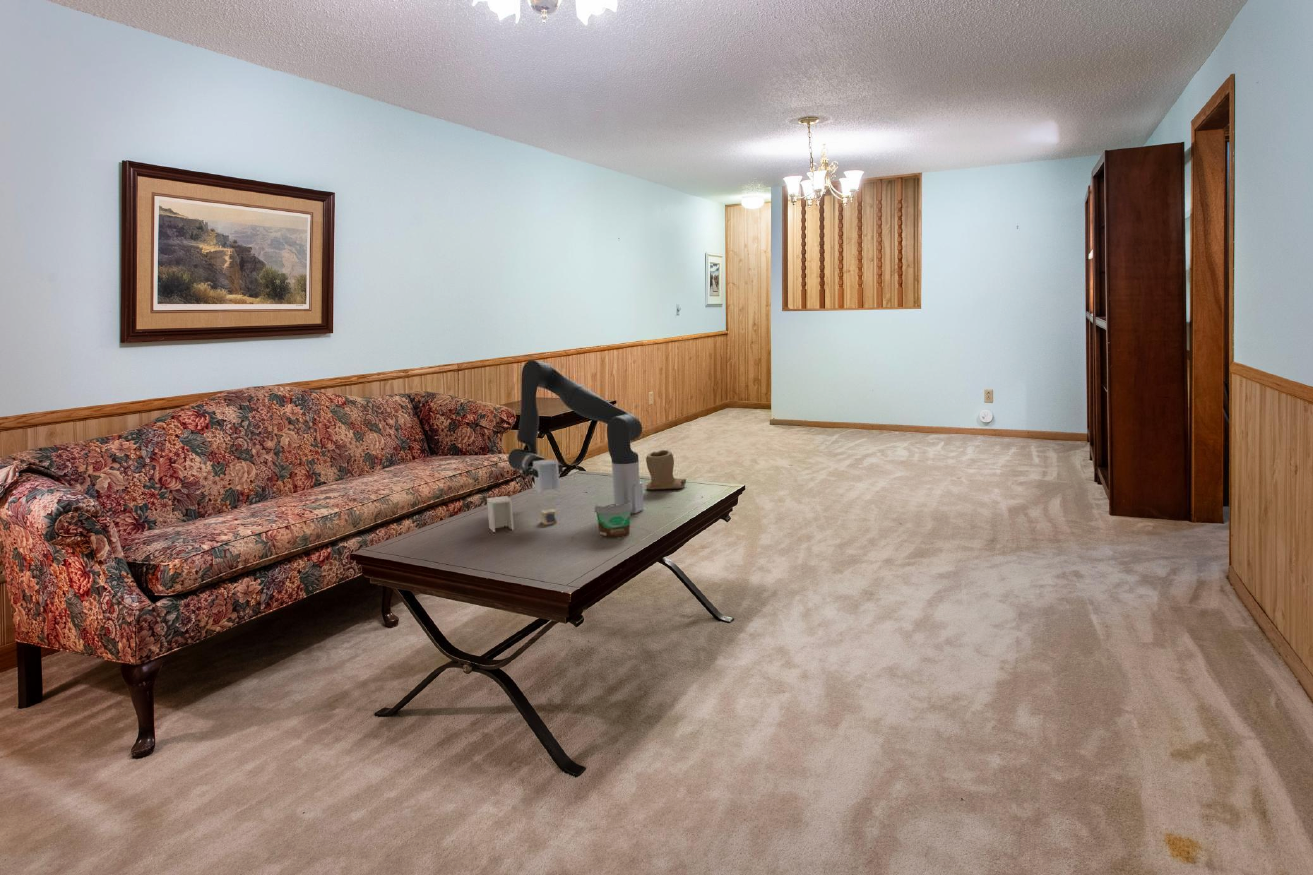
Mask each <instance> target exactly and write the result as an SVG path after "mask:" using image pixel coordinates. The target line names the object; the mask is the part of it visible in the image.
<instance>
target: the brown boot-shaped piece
mask: <svg viewBox="0 0 1313 875" xmlns="http://www.w3.org/2000/svg"><path fill="white" fill-rule="evenodd" d="M645 463H646V467H647V470H648V472H649V475H650V478H651V481H650V482H648V483H647V484H646V485H645V487H646V489H648V490H678V489H683V488H684V487H685V486H686V484H687V479H686V478H675V477H674V475H673V474H674V466H675V458H674V454H673V453H672V451H671V450H668V449H661V450H658V451H652V452H650V453H648V454H647V455H646V457H645Z"/></svg>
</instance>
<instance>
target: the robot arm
mask: <svg viewBox="0 0 1313 875" xmlns="http://www.w3.org/2000/svg"><path fill="white" fill-rule="evenodd" d="M520 377H521V378H520V379H521V380H520V381H521V382H520V383H521V384H520V385H521V386H520V387H521V391H520V392H521V394H520V395H521V396H520V398H521V399H520V415H519V423H518V430H517V435H516V439H517V442H519V443H521V444H524V445H525V446H527V448H528V450H527V449H522V448H514V449H512V450H511V451H510V452H509V454H508V456H507V460H508V464H509V466H510V468H512V469H516V470H520V471H519V472H520V476H523V477H526V478H529V477H532V478H533V479H534V477H536V478H537V477H538V471H537V470H535V469H534V468H533V461H540V460H547V459H546V458H545V457H542V455H541V456H540V455H539V454H538V448H537V447H538V446H537V441H538V440H537V438H538V432H539V427H540V416H539V412H538V411H539V410H538V404H537V392H538V388H541V389H545V390H546V391H549V392H551V393H553V394H554V395H556V396H557V397H559V399H560V400H561V401H562V403H563V404H564V405H565V406H566V407H567V408H568V409H569V410H571V411H573V412H574V413H576V414H578V415H579V416H581V417H583V418H585V419H586V418H587V419H590V420H593V421H598V422H601V423H603V424H606V425H607V426H606V438H607V440H606V441H607V448H608V453H609V457H610V460H611V472H612V473H611V474H612V475H611V477H612V488H613V490H612V492H613V493H612V494H613V495H612V496H613V504H624V503H628V500H630V502H631V504H632V509H631V510H630V514H637V513H639V512H642V511H643V510H644V498H643V494H644V492H643V482H641V481H640V479H641V478H640V463H639V461H640V460H639V458H640V457H639V454H638V452H636V451H633V449H632V447H631V446H632V445H631V442H632V441H635V440H637V439H638V438H639V437H640V436H641V435H642V434H643V425H642V422H641V421H640V419H639V418H638V417H637V416H636V415H634V414H633V413H630V412H629V411H626V410H624V409H622V408H619V407H618V406H615V405H614V404H612V403H610V402H609V401H607V400H605V399H604V398H602V397H601V396H599V395H598V394H596V393H595V392H593V391H592V390H590V389H588V388H587V387H585V386H583V385H581V384H580V383H578V382H576V381H574V380H572V379H570V378H568V377H566V376H565V375H564V374H562V373H561V372H560V371H558V370H557V369H556V368H554V366H552V365H551V364H549V363H548V362H546V361H540V360H536V359H531V360H529V359H528V361H526V362H525V363H524V365H523V367H522V370H521V376H520ZM558 470H559V476H560V475H561V473H563V472H564V469H563V464H562V463H561V462H558Z"/></svg>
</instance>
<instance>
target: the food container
mask: <svg viewBox="0 0 1313 875" xmlns="http://www.w3.org/2000/svg"><path fill="white" fill-rule="evenodd" d="M631 509H632V504H631V502H630V500H628V503H624V504H614V503H612V504H609V505H606V506H602V505H595V507H594V513H596V517H597V524H598V532H599V537H600V536H602V537H601V538H604V537H605V539H619V538H618V537H621V538H624V537H623V536H625V537H627V536H629V535H630V528H631V527H630V524H631V513H630V510H631Z"/></svg>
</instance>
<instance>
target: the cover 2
mask: <svg viewBox="0 0 1313 875" xmlns="http://www.w3.org/2000/svg"><path fill="white" fill-rule="evenodd" d="M558 463H559V461H557V460H555V459H552V458H550V459H546V460H540V461H533V468H534V469H535V470H537V471H538V477H537V478H536V477H534V478H533V479H534V490H535V492H536V493H538V494H539V495H543V491H548V490H554V491H556V492H557V493H560V492H561V487H560V485H561V484H560V475H559V470H558Z"/></svg>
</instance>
